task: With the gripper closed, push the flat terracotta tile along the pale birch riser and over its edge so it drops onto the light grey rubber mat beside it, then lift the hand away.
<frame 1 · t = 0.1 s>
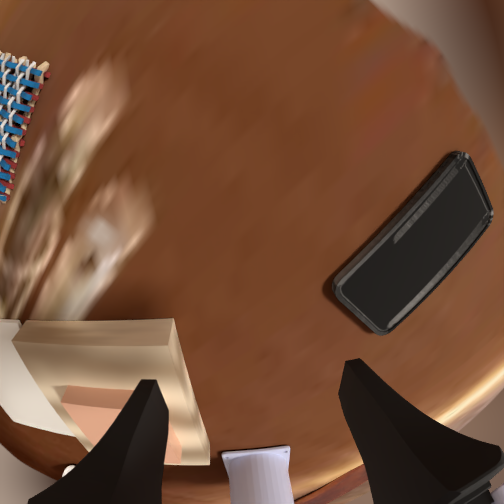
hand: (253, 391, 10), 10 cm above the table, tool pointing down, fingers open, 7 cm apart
phone: (419, 242, 21), on the table
wooden tablet: (330, 488, 41), on the table
riser: (123, 395, 24), on the table
tile: (127, 420, 21), point 3 cm above the table, touching riser
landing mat: (14, 382, 23), on the table
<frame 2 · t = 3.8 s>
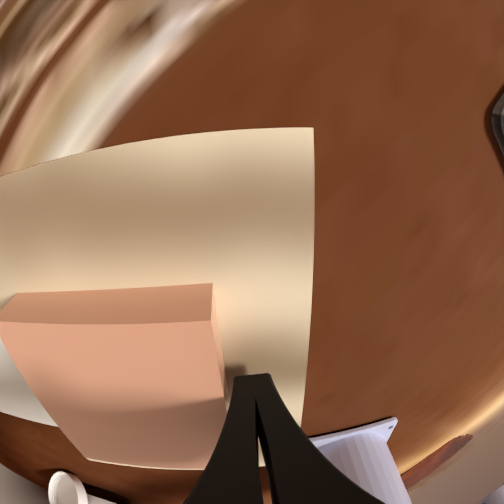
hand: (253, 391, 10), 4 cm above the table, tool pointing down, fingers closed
wooden tablet: (396, 481, 30), on the table
riser: (149, 337, 14), on the table
spread jar: (93, 488, 23), on the table
tile: (132, 381, 11), point 3 cm above the table, touching gripper, riser
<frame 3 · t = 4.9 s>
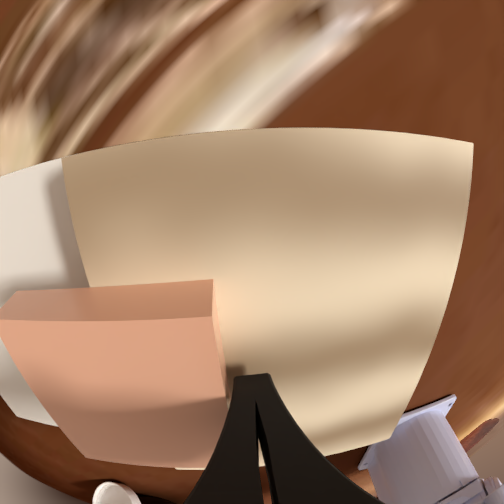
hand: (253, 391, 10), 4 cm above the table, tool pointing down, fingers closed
wooden tablet: (429, 467, 31), on the table
riser: (282, 327, 14), on the table
spread jar: (140, 496, 24), on the table
tile: (132, 379, 11), point 3 cm above the table, touching gripper
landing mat: (23, 334, 13), on the table
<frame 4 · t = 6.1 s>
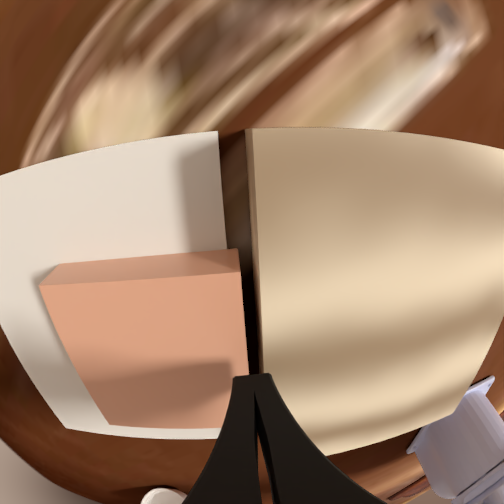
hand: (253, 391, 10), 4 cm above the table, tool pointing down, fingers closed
wooden tablet: (455, 454, 31), on the table
riser: (388, 311, 14), on the table
spread jar: (186, 500, 24), on the table
tile: (160, 343, 13), resting on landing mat
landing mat: (101, 337, 13), on the table
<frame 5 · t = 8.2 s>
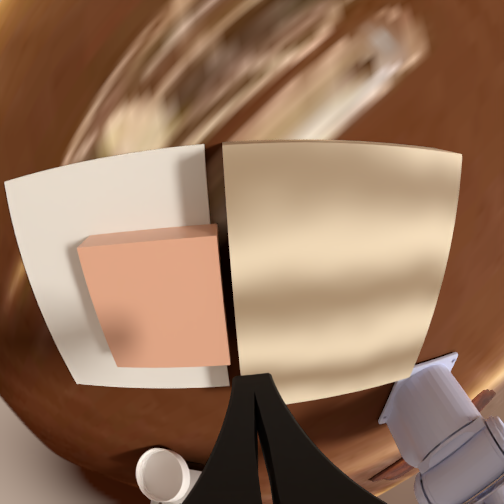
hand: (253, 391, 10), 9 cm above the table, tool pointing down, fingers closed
wooden tablet: (434, 438, 37), on the table
riser: (336, 277, 20), on the table
spread jar: (179, 464, 29), on the table
tile: (161, 295, 18), resting on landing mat
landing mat: (116, 294, 19), on the table
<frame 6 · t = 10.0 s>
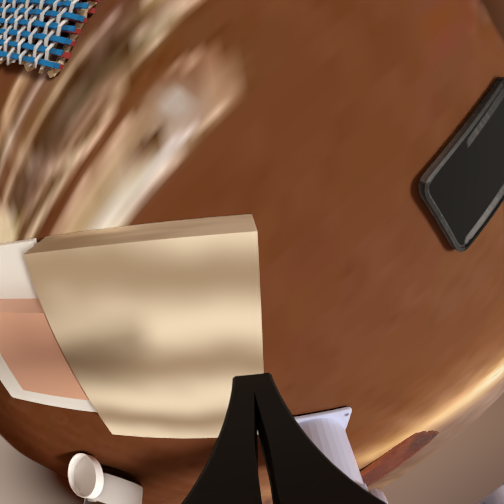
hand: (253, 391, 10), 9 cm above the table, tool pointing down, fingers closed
woven mat: (49, 3, 11), on the table
phone: (482, 156, 18), on the table
wooden tablet: (370, 470, 38), on the table
riser: (163, 341, 21), on the table
spread jar: (106, 469, 30), on the table
tile: (39, 343, 19), resting on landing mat
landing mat: (16, 338, 20), on the table
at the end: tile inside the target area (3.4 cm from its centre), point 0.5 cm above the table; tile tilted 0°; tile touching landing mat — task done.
